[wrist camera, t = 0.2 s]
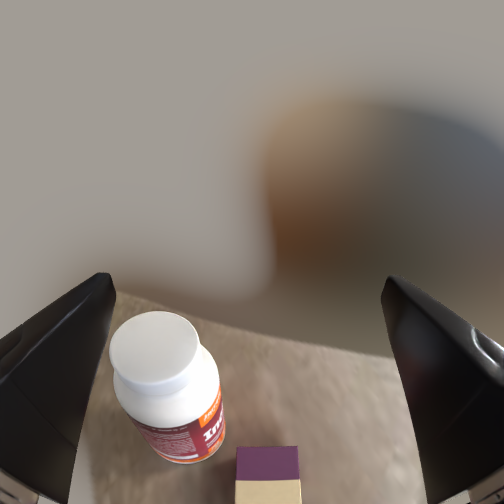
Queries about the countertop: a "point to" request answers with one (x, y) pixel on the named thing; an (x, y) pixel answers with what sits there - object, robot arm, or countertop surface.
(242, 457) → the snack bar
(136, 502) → the countertop surface
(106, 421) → the countertop surface
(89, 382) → the robot arm
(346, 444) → the countertop surface
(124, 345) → the pill bottle
